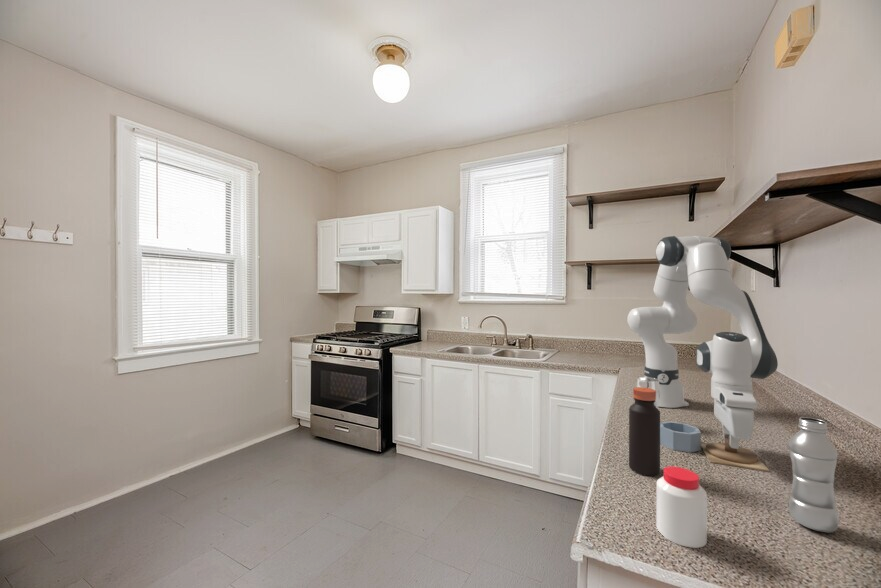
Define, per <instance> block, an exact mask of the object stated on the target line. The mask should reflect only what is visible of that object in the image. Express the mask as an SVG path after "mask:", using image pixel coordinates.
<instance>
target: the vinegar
mask: <svg viewBox="0 0 881 588" xmlns="http://www.w3.org/2000/svg"><path fill="white" fill-rule="evenodd" d="M632 398H633V401H634V403H632V404H631V405H630V407H629V409H628V420H629V421H628V467H629V469H631V470H632V471H633V472H634V473H637V474H639V475H643V476H647V477H651V476H652V477H653V476H658V475H659V474H660V473H661V444H660V423H661V412H660V409H659V408H658V409H657V408H656V407H655V405H654V402H656V401H655V400H656V391H655V390H653V389H650V388H644V387H637V386H636V387H634V388H633V395H632Z"/></svg>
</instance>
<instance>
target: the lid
mask: <svg viewBox="0 0 881 588" xmlns="http://www.w3.org/2000/svg"><path fill="white" fill-rule="evenodd" d="M729 439H730V438H725V439H724V443H723V442H708V443H709V444H707V445H706V451H707V452H708V453H709V454H711V455H712V456H714V457H717V458H720V459H723V460H726V461H730V462H735V463H741V464H753V463H756V462H757V461H758V458H759V457H758V455H757V454H756V453H755V452H754V451H753V450H751V449H750V450H751V451H750V450H748V449H749V448H747V449H745V448H746V447H741V446H739V448H738V449H734V448H731V447H730V445H729Z"/></svg>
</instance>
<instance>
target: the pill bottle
mask: <svg viewBox="0 0 881 588" xmlns="http://www.w3.org/2000/svg"><path fill="white" fill-rule="evenodd" d="M655 484H656V485H655V486H656V493H655V494H656V496H655V497H656V499H655V501H656V503H655V504H656V507H655V509H656V511H655V513H656V514H655V517H656V519H655V520H656V521H655V523H656V525H655V526H656V527H657V528H656V530H657V529H658V530H657V532H658V531H659V532H660V533H661V534H662V535H663V536H664V537H663V536H662V535H661V534H660V533H659V532H658V533H659V534H660V535H661V536H662V537H663V538H664V539H666V540H668V541H670V542H672V543H674V544H676V545H679V546H683V547H686V548H692V549H697V548H699V549H700V548H703V547H705V546H706V545H707V543H708V494H707V493H708V492H707V491H706V490H705V489H704V488H703V486H701V485H700V476H699V475H698V474H697V473H696V472H694V471H692V470H689V469H687V468H684V467H681V466H672V465H671V466H665V467H664V468H663V475H662V476H661V477H659V478H658V479H657V480H656V483H655Z"/></svg>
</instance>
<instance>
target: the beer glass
mask: <svg viewBox="0 0 881 588" xmlns="http://www.w3.org/2000/svg"><path fill="white" fill-rule="evenodd" d="M636 379H637V381H636V387H644V388H650V389H653V390H655V391H656V400H655V401H656V402H654V405H655V407H656V408H657V409H658V410H659V406H658V404H659V399H660V385H659V380H658V379H656V378H650V377H645V376H638V377H637V378H636Z"/></svg>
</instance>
